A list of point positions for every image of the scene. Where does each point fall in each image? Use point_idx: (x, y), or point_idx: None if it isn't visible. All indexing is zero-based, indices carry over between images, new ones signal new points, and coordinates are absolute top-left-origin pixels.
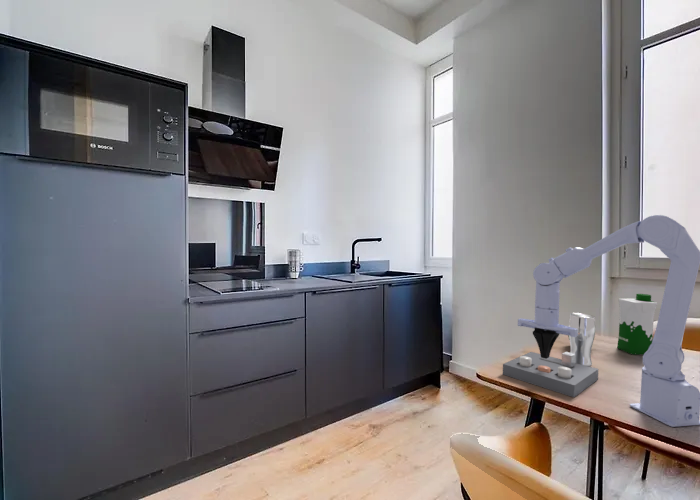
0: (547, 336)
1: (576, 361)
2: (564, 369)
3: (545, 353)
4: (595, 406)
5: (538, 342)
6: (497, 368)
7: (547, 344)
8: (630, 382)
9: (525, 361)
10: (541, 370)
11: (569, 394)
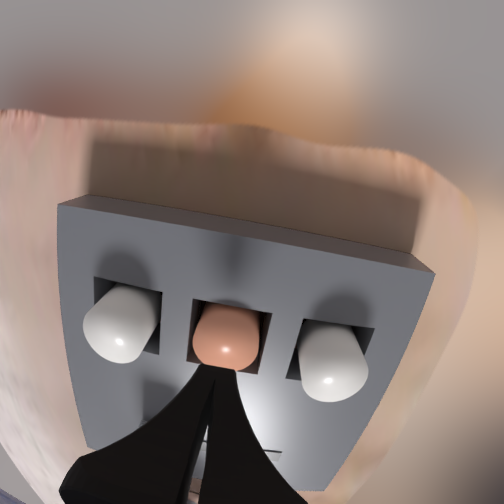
0: (115, 477)
1: (188, 500)
2: (106, 320)
3: (195, 382)
4: (28, 168)
5: (245, 444)
6: (436, 314)
7: (156, 426)
8: (53, 432)
9: (330, 344)
10: (232, 312)
11: (99, 197)
